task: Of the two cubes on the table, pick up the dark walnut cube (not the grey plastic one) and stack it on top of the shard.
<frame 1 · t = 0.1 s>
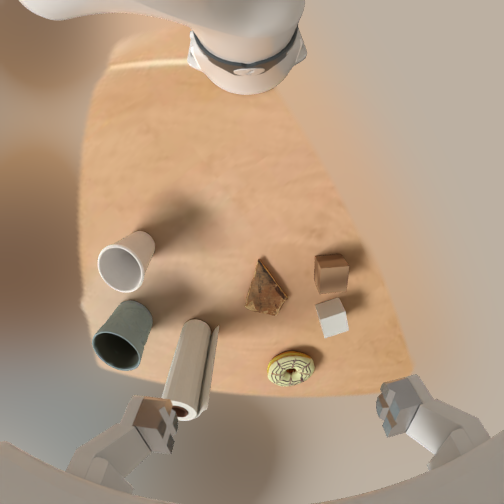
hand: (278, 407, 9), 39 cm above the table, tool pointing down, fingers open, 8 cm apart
dixie cup: (141, 244, 49), on the table
teal plant pot: (135, 315, 55), on the table
walnut cube: (327, 267, 50), on the table
paper towel roll: (199, 329, 56), on the table
decorated donut: (289, 363, 61), on the table
shard: (258, 289, 53), on the table
grey cube: (329, 310, 54), on the table
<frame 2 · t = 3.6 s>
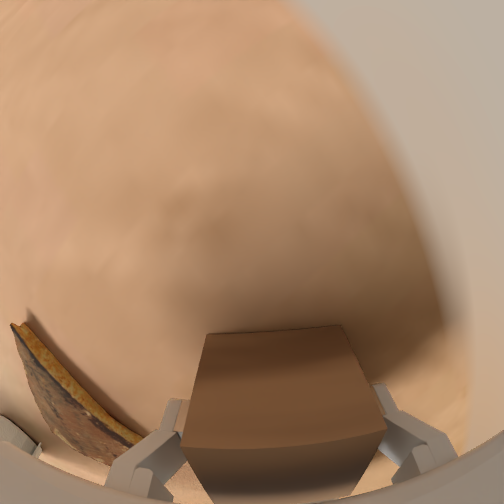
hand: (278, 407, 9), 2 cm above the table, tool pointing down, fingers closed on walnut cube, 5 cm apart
walnut cube: (276, 379, 11), on the table, touching gripper
paper towel roll: (24, 435, 16), on the table
shard: (71, 402, 13), on the table
when the fingers open (5 cm above the table, at t = 8.7 s): walnut cube drops 2 cm, point 1 cm above the table.
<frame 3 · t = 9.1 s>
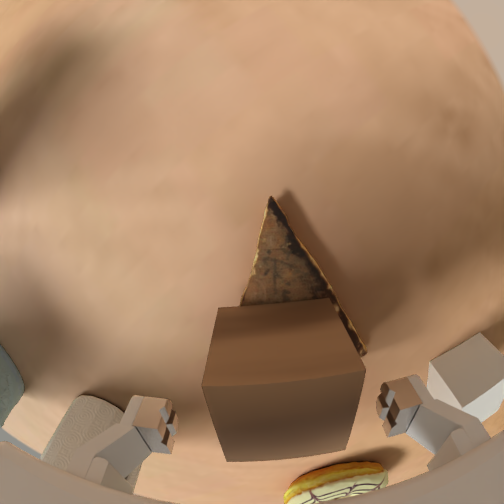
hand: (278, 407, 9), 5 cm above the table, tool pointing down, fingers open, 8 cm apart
walnut cube: (276, 347, 13), point 1 cm above the table
paper towel roll: (113, 418, 17), on the table
decorated donut: (333, 476, 21), on the table
shard: (269, 324, 15), on the table
grey cube: (452, 368, 15), on the table
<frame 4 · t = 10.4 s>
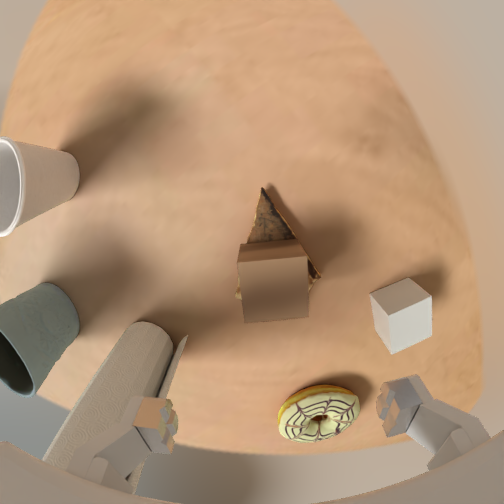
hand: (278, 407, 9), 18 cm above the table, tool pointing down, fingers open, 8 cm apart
dixie cup: (62, 177, 24), on the table
teal plant pot: (56, 310, 29), on the table
walnut cube: (271, 268, 25), point 1 cm above the table, touching shard
paper towel roll: (154, 343, 29), on the table
decorated donut: (316, 404, 32), on the table
shard: (263, 259, 27), on the table, touching walnut cube
grey cube: (391, 304, 28), on the table
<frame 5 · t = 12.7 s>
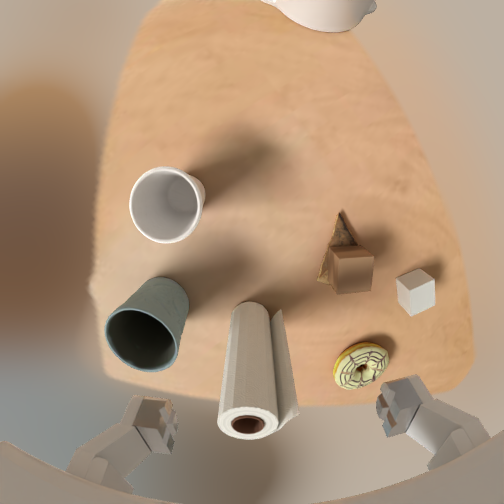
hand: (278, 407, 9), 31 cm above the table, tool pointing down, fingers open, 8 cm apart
dixie cup: (186, 194, 38), on the table
teal plant pot: (164, 299, 43), on the table
walnut cube: (344, 262, 39), point 1 cm above the table, touching shard
paper towel roll: (253, 317, 43), on the table
decorated donut: (358, 359, 47), on the table
shard: (333, 256, 41), on the table, touching walnut cube
grey cube: (408, 285, 42), on the table
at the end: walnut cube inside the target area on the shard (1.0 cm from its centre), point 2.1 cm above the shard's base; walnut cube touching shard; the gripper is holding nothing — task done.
